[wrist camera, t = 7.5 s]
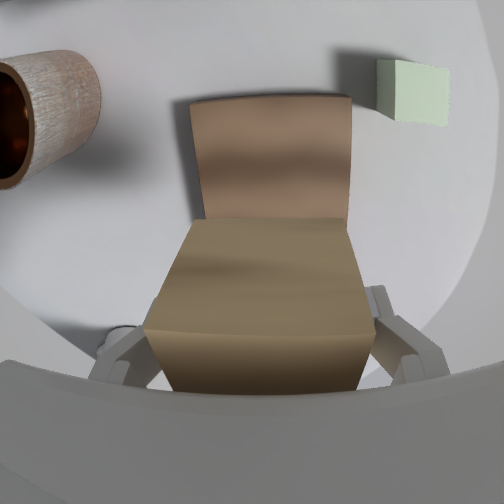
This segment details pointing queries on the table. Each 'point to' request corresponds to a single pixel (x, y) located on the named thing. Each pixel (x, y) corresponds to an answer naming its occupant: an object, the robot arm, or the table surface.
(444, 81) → the green cube
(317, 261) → the oak cube
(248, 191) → the base plate
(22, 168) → the planter
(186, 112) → the table surface
